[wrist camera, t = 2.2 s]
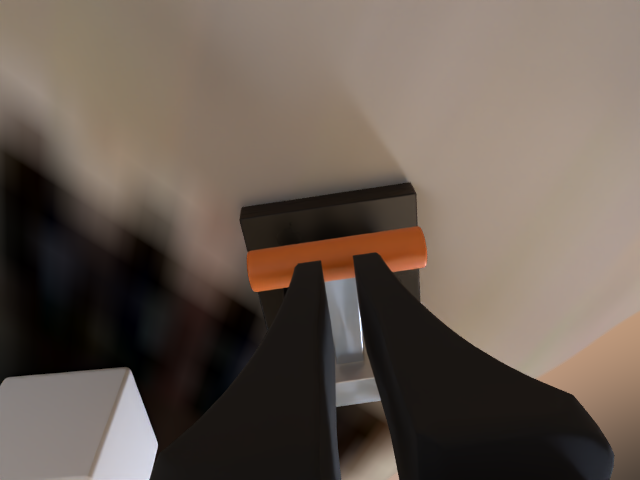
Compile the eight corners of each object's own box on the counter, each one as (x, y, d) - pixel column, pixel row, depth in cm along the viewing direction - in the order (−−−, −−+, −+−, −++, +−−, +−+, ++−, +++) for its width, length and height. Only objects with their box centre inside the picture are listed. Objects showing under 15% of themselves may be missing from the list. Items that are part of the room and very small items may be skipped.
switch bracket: (240, 207, 23) (223, 315, 17) (410, 181, 23) (461, 281, 17) (278, 359, 29) (277, 488, 22) (417, 339, 28) (457, 463, 22)
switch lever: (245, 226, 15) (247, 297, 13) (414, 201, 15) (434, 270, 13) (294, 359, 23) (298, 412, 21) (403, 343, 23) (415, 396, 21)
